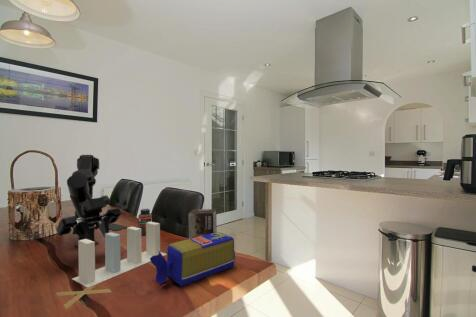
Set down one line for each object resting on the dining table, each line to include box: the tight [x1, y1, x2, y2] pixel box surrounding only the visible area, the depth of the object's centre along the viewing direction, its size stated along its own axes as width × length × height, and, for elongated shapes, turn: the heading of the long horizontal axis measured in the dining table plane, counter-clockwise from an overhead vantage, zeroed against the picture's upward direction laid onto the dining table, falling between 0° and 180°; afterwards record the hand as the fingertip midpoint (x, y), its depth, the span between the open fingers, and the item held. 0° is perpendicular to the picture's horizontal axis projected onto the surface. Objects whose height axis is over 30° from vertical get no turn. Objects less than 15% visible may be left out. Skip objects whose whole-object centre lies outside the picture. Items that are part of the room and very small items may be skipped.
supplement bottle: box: [137, 208, 153, 236], centre depth 116 cm, size 6×6×11 cm
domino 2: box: [104, 231, 121, 273], centre depth 77 cm, size 2×5×11 cm, turn 56°
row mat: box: [71, 250, 167, 288], centre depth 80 cm, size 9×27×1 cm, turn 147°
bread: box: [150, 231, 236, 287], centre depth 76 cm, size 10×25×10 cm, turn 130°
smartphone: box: [109, 223, 129, 232], centre depth 127 cm, size 7×1×15 cm
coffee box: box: [187, 208, 218, 239], centre depth 89 cm, size 9×6×16 cm
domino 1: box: [77, 239, 96, 284], centre depth 71 cm, size 2×5×11 cm, turn 57°
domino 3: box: [126, 226, 143, 264], centre depth 83 cm, size 2×5×11 cm, turn 57°
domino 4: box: [145, 221, 161, 256], centre depth 89 cm, size 2×5×11 cm, turn 57°
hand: (101, 241), depth 81 cm, fingers open, 4 cm apart
